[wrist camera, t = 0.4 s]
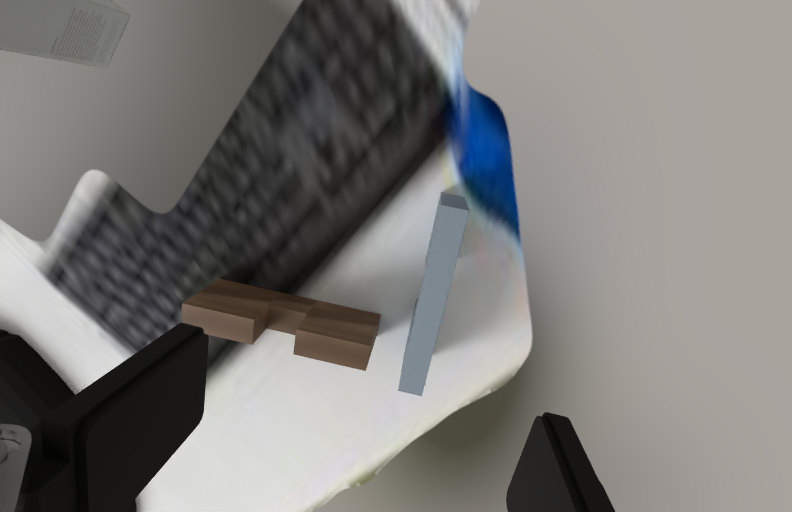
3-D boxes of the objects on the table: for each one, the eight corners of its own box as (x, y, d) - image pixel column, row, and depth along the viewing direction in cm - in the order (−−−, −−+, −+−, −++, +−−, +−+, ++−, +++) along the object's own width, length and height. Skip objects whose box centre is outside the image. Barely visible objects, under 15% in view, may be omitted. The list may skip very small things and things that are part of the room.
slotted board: (219, 278, 46) (182, 303, 39) (380, 314, 45) (370, 346, 39) (218, 300, 47) (181, 328, 40) (376, 336, 46) (365, 370, 40)
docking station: (63, 547, 67) (34, 579, 62) (-104, 357, 57) (-154, 378, 52) (174, 519, 61) (152, 551, 56) (10, 303, 51) (-33, 320, 47)
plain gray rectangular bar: (440, 192, 40) (441, 204, 33) (464, 197, 40) (469, 210, 33) (404, 353, 46) (398, 390, 40) (424, 358, 46) (421, 396, 40)
